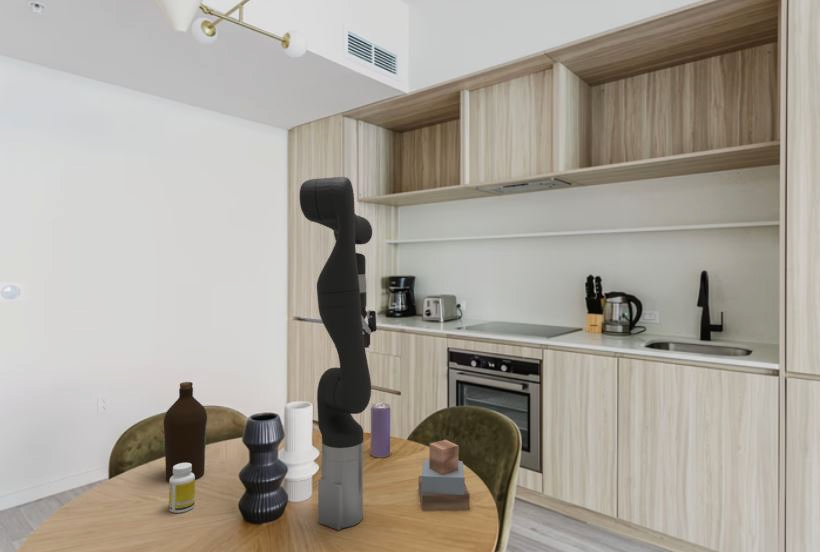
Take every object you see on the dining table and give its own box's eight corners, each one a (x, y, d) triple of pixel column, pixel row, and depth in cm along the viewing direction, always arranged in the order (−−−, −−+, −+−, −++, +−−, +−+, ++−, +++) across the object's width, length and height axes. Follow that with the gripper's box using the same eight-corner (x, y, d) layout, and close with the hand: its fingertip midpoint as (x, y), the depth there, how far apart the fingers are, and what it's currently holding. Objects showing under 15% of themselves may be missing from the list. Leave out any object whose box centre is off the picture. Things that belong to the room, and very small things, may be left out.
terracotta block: (442, 475, 113) (442, 449, 113) (429, 468, 117) (429, 443, 117) (458, 470, 116) (458, 445, 116) (445, 463, 120) (445, 439, 120)
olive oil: (172, 488, 122) (173, 389, 123) (157, 476, 130) (157, 383, 130) (213, 475, 130) (214, 383, 130) (196, 465, 137) (197, 377, 138)
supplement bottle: (199, 504, 114) (200, 463, 114) (182, 515, 109) (182, 471, 109) (181, 501, 115) (182, 460, 115) (163, 511, 110) (163, 468, 110)
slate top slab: (464, 494, 112) (464, 477, 112) (421, 493, 113) (421, 476, 113) (462, 477, 122) (462, 461, 122) (422, 475, 123) (423, 459, 123)
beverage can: (389, 458, 144) (389, 408, 144) (369, 458, 144) (369, 407, 144) (390, 451, 150) (391, 402, 150) (371, 450, 150) (371, 402, 150)
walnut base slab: (469, 511, 112) (469, 494, 112) (422, 512, 112) (422, 495, 112) (461, 490, 123) (461, 474, 123) (418, 491, 123) (418, 475, 123)
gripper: (337, 292, 127) (337, 353, 127) (381, 290, 136) (381, 348, 136) (323, 291, 133) (323, 349, 133) (366, 289, 142) (366, 344, 142)
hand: (353, 348), depth 135 cm, fingers open, 8 cm apart
